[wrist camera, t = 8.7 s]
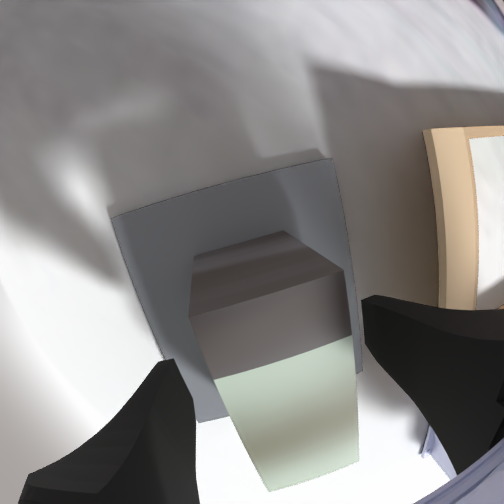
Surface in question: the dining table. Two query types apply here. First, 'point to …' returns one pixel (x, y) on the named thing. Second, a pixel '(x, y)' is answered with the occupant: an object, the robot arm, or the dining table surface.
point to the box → (280, 354)
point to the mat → (221, 235)
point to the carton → (456, 211)
